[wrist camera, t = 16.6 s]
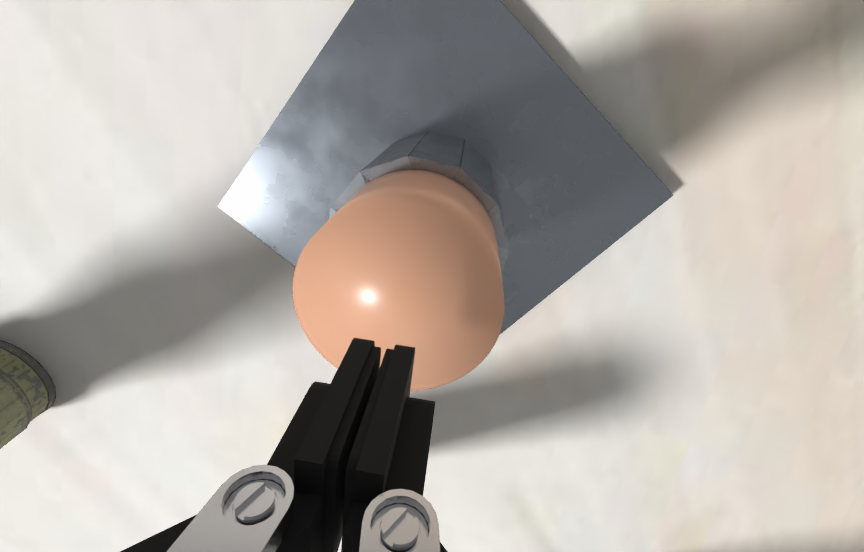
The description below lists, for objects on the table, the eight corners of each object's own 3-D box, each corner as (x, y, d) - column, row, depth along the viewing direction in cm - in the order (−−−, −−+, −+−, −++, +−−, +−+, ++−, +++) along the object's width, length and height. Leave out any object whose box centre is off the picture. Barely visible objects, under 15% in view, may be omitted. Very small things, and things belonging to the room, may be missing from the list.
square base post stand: (666, 190, 25) (757, 246, 17) (442, 372, 33) (431, 470, 25) (419, -86, 20) (382, -190, 12) (226, 202, 28) (125, 254, 20)
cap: (519, 209, 23) (551, 308, 13) (433, 289, 26) (408, 420, 16) (423, 116, 22) (380, 152, 12) (343, 212, 24) (253, 307, 14)
